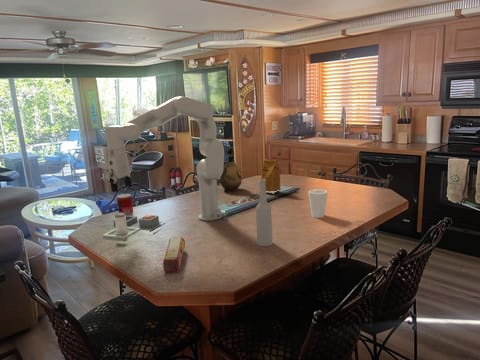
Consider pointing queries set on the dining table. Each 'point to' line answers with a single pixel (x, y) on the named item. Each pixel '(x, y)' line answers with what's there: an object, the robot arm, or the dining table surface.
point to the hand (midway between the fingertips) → (121, 188)
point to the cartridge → (121, 223)
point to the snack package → (174, 255)
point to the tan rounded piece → (148, 217)
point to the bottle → (263, 218)
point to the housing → (142, 222)
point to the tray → (120, 236)
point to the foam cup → (318, 202)
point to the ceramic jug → (231, 174)
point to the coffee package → (271, 175)
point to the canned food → (124, 203)
